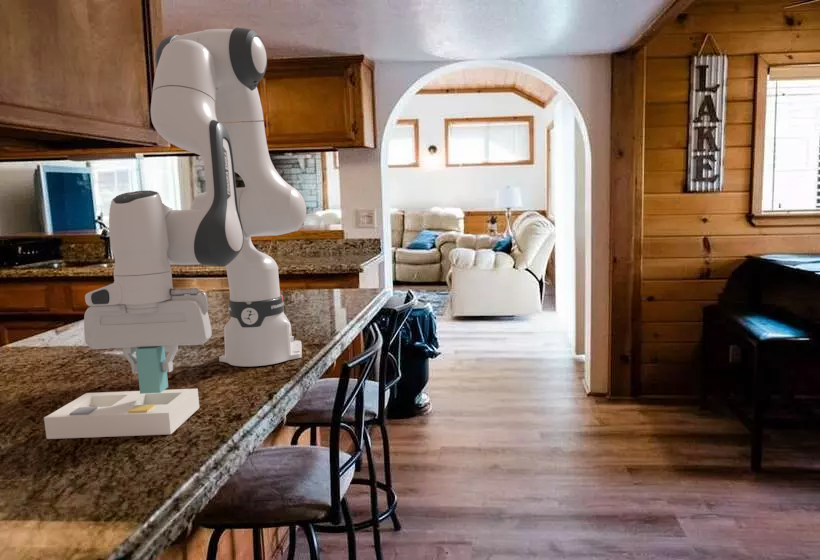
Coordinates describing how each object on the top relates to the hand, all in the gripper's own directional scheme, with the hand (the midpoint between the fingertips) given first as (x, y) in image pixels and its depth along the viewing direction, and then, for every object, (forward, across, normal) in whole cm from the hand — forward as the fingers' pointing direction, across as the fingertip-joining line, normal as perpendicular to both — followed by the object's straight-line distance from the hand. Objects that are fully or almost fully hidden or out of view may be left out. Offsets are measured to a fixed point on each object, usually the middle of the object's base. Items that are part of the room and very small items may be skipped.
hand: (152, 372), depth 111 cm
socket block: (+8, +5, +1) cm, 10 cm away
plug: (+3, 0, 0) cm, 3 cm away
